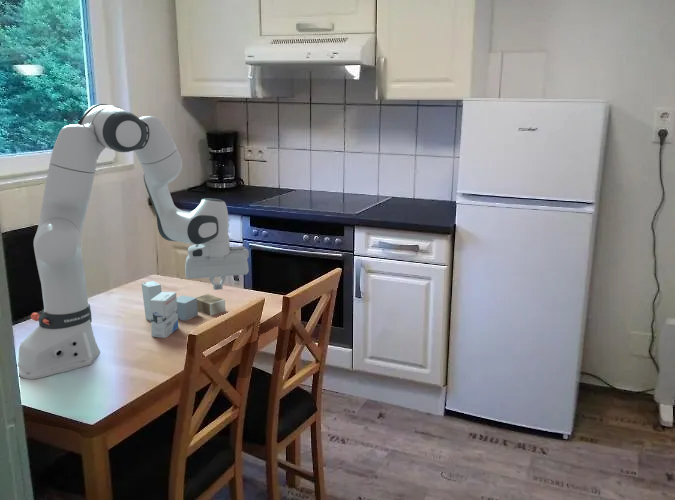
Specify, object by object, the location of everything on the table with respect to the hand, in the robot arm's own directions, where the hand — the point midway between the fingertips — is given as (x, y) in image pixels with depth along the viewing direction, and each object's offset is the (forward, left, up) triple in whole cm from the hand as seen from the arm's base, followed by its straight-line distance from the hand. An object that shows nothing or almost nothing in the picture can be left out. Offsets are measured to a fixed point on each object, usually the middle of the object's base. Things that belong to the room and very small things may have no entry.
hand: (218, 289), depth 205 cm
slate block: (-9, +7, -8) cm, 14 cm away
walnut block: (0, +1, -6) cm, 7 cm away
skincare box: (-17, +12, -9) cm, 22 cm away
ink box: (-21, 0, -9) cm, 23 cm away
